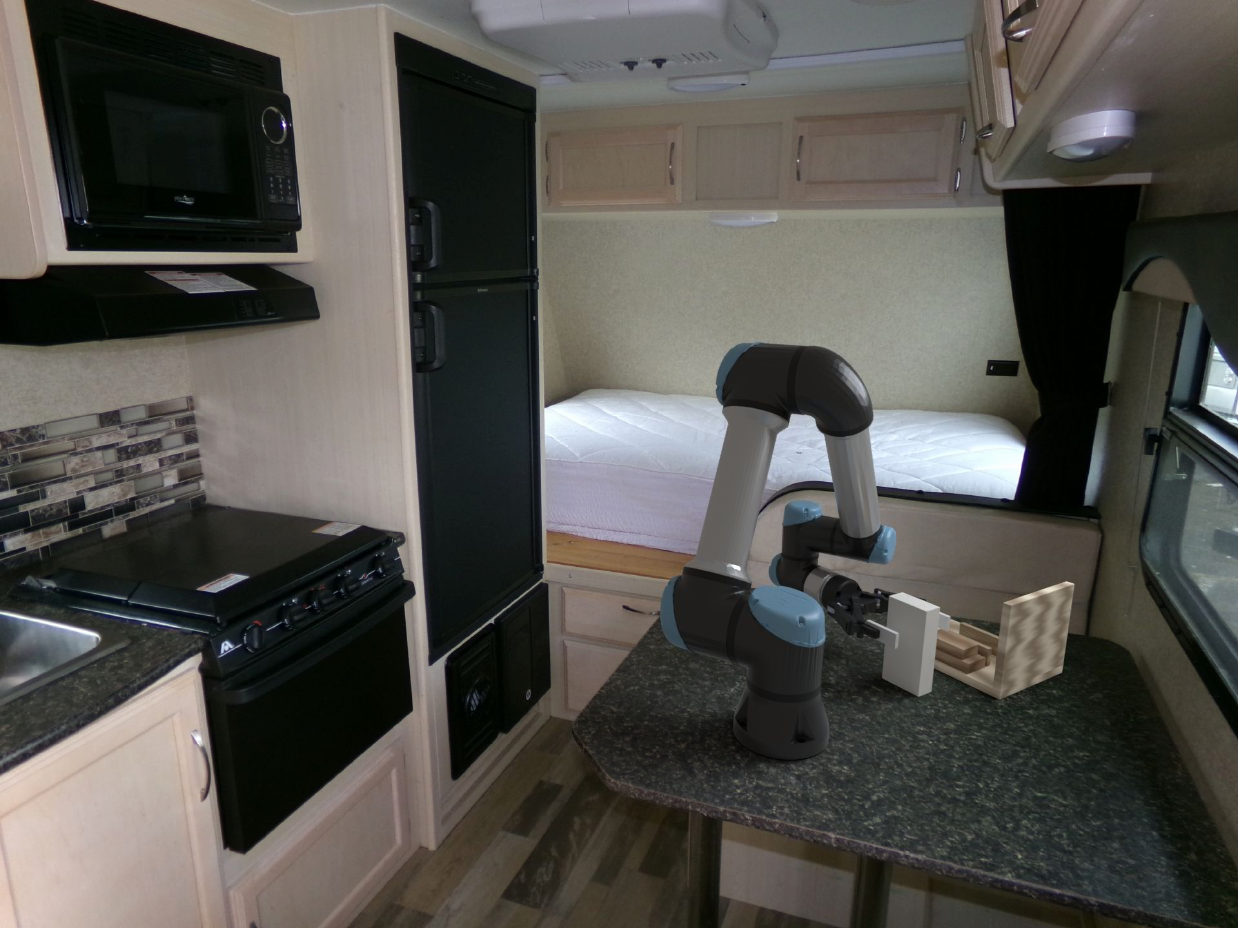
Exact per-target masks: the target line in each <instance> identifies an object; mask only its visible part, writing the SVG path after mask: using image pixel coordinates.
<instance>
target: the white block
mask: <svg viewBox="0 0 1238 928" xmlns="http://www.w3.org/2000/svg"><path fill="white" fill-rule="evenodd" d="M916 597H917V596H912V595H911V594H908V593H905V592H903V591H902V592H899V593H898V594H894V595H891V596H889V604H888V612H887V617H886V627H887V628H889V629H891V630H893V631H895V632H898V633H899V640H898V648H896V649H894V648H892V647H890V646H888V645H886V644H884V650H883V651H884V653H883V662H882V663H883V664H882V676H881V678H882V679H883V680H885V681H886V682H887V681H888V682H889V683H891V684H893V685H895V686H897V687H899V688H901V689H902V690H904V691H907V692H909V693H910V694H912V695H914V696H916V697H917V698H918V697H921V696H924V695H927V694H929V693H932V687H933V681H934V670H935V669H934V662H935V652H936V642H937V632H938V623H939V613H940V612H941V607H940V606H938V605H935V604H933V603H930V602H928V601H927V600H926V601H923V600H921V599H918V598H919V597H917V598H916Z"/></svg>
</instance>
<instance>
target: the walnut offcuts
mask: <svg viewBox="0 0 1238 928" xmlns="http://www.w3.org/2000/svg"><path fill="white" fill-rule="evenodd" d="M978 646H979V644H977V643H974V642H972V641H970V640H967V639H965V638H963V637H960V636H958V635H956V634H953V633H951V632H949V631H945V630H942V629H939V630H938V632H937V642H936V652H935V659H936V660H938V661H940V662H942V663H945V664H947V665H949V666H951V667H953V668H955V669H957V670H960V671H962V672H964V673H966V674H970V673H972V672H975V671H977V670H980V669H982V668H985V662H986V657H984V656H981V655H979V654H978Z"/></svg>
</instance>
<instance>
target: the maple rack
mask: <svg viewBox="0 0 1238 928" xmlns="http://www.w3.org/2000/svg"><path fill="white" fill-rule="evenodd" d="M1075 585H1076V584H1075V583H1073V582H1069V581H1064V582H1061V583H1056V584H1055V585H1051V586H1048V587H1046V588H1042V589H1040V590H1037V591H1033V592H1031V593H1029V594H1025V595H1022V596H1019V597H1016V598H1013V599H1010V600H1007V601H1004V602H1003V603H1002V608H1001V609H1002V610H1001V619H1000V624H999V625H1000V626H999V634H998V635H996V634H993V633H991V632H989V631H987V630H984V629H982V628H979V627H976V626H974V625H971V624H969V623H967V622H963V621H962V622H959V621H957V620H954V619H953V618H950V628H949V632H951V633H953V634H956V635H958V636H960V637H963V638H965V639H967V640H970V641H972V642H974V643H977V644H979V646H978V654H979V655H981V656H984V657H986V662H985V668H982V669H980V670H977V671H975V672H972V673H970V674H966V673H964V672H962V671H960V670H957V669H955V668H953V667H951V666H949V665H947V664H945V663H942V662H940V661H938V660H936V659H935V662H934V670H937V671H939V672H941V673H943V674H945V675H947V676H950V677H952V678H953V679H956V680H958V681H960V682H962V683H963V684H966V685H968V686H970V687H971V688H972V687H973V688H975V689H977V690H978V691H981V692H983V693H985V694H987V695H989V696H991V697H993V698H996V699H997V700H1002V699H1004V698H1006V697H1009V696H1012V695H1014V694H1016V693H1018V692H1021V691H1023V690H1024V689H1025V690H1026V689H1028V688H1030V687H1032V686H1034V685H1036V684H1039V683H1041V682H1044V681H1046V680H1048V679H1050V678H1052V677H1055V676H1057V675H1059V674H1062V673H1063V668H1064V662H1065V661H1064V659H1065V654H1066V647H1067V639H1068V633H1069V626H1070V618H1071V612H1072V605H1073V598H1074V591H1075ZM939 629H940V628H938V630H939Z"/></svg>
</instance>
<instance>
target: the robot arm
mask: <svg viewBox="0 0 1238 928" xmlns="http://www.w3.org/2000/svg"><path fill="white" fill-rule="evenodd" d="M715 385H716V388H715V395H716V399H717V402H718V403H719V404H720V405H721V406H722V408H721V409H722V411H721V413H722V415H723V416H724V418H725V420H726V421H727V426H726V430H725V434H724V438H723V439H724V440H723V443H722V448H721V451H720V454H719V455H720V456H719V458H718V463H717V468H716V472H715V477H714V480H713V485H712V487H711V488H712V489H711V493H710V496H709V500H708V503H707V504H708V505H707V509H706V512H705V513H706V514H705V518H704V521H703V526H702V530H701V533H700V536H699V541H698V546H697V548H696V549H697V550H696V554H695V557H694V558H693V559H692V560H690V561H688V562H687V563H685V564H684V565H683V567H682V568H683V569H682V573H681V574H679V575H675V576H673V577H672V578H670V579H669V580H668V582H667V585H665V587H664V589H663V592H662V596H661V599H660V607H659V609H660V610H659V616H660V617H659V618H660V620H659V621H660V626H661V628H662V632H663V634H664V636H665V638H666V640H667V641H668V642H669V643H670V644H672V645H673V646H675V647H678V648H679V649H680V648H681V649H684V650H685V651H687V652H689V653H694V654H700V655H702V656H706V657H710V658H713V659H717V660H720V661H723V662H727V663H730V664H733V665H738V666H741V667H743V668H746V682H745V686H744V688H743V692H742V695H741V696H740V698H739V701H738V703H737V706H736V709H735V712H734V713H733V722H732V723H733V724H732V726H733V727H732V732H733V735H734V736H735V738H736V740H737V741H738V742H739V743H740V744H741V745H742V746H744V747H745V748H747V749H748V750H750V751H752V752H754V753H757V754H758V755H761V756H764V757H768V758H773V759H778V760H791V761H792V760H802V759H806V758H810V757H811V758H812V757H814V756H816V755H818V754H820V753H822V752H823V751H824V750H825V749H826V748H827V746H828V744H829V740H830V723H829V720H828V716H827V715H828V714H827V711H826V709H825V705H824V701H823V698H822V694H821V693H822V692H821V690H822V688H821V687H822V678H823V677H822V675H823V662H824V651H825V649H824V648H825V641H826V637H827V634H826V628H825V627H826V625H825V624H826V623H825V622H826V617H825V616H826V615H825V611H824V609H825V610H826V611H827V612H826V614H827V616H830V617H831V618H833V620H835V621H836V623H837V624H838V625H839V626H840V627H841V629H842V630H843V631H844V633H846V635H848V636H854V635H855V633H856V638H857V639H864V635H865V636H867V637H869V638H870V639H873V640H875V641H878V642H879V643H882V644H883V645H885V644H886V645H888V646H890V647H892V648H894V649H896V648H898V640H899V633H898V632H895V631H893V630H891V629H889V628H887V626H884V625H882V624H880V623H878V622H875V621H873V620H871V619H867V620H865V617H864V616H867V615H869V614H879V615H881V614H883V613H888V604H889V596H891V595H894V594H898V593H897V592H893V591H889V590H885V589H881V588H879V587H876V588H873V592H872V593H871V592H869V591H866V590H865V591H863V589H862V588H861V586H860V584H859V582H857V581H856V580H854V579H853V578H850V577H848V576H846V575H842V574H840V573H838V572H836V571H833V570H831V569H829V568H825V567H823V566H822V565H820V564H819V559H820V554H824V555H830V556H834V557H837V558H844V559H849V560H853V561H856V562H857V561H858V562H862V563H866V564H876V565H881V566H882V565H884V566H885V565H888V564H889V563H890V562H891V561H892V559H893V557H894V554H895V552H896V547H897V532H896V530H895V529H894V528H893V527H891V526H887V525H885V524H883V525H882V519H881V514H880V513H881V512H880V505H879V497H878V496H879V495H878V490H877V481H876V474H875V473H876V472H875V467H874V457H873V452H872V451H873V450H872V443H871V434H870V427H871V426H872V424H873V422H874V419H875V417H874V409H873V408H874V407H873V403H872V399H871V395H870V393H869V391H868V389H867V386H866V384H865V383H864V381H863V379H862V378H861V376H860V374H858V372H857V371H856V369H854V367H853V366H852V365H851V363H850V362H848V361H847V360H846V359H845V358H844V357H843V356H841V354H838V353H837V352H835V351H833V350H831V349H829V348H827V347H824V346H819V345H801V344H800V345H798V344H782V343H769V342H768V343H767V342H762V341H757V342H741V343H738V344H735V346H733V347H732V348H730V349H729V350H728V351H727V352H726V354H725V355H724V356H723V358H722V360H721V361H720V365H719V367H718V369H717V374H716V378H715ZM792 415H799V416H809V417H811V418H813V419H814V421H815V427H816V429H817V430H818V432H820V433H821V434H822V435H824V436H823V438H824V441H825V447H826V453H827V454H826V455H827V459H828V463H829V468H830V474H831V480H832V485H833V491H834V497H835V501H836V503H835V504H836V507H837V513H838V517H834V516H830V515H829V516H827V515H824V514H823V513H824V512H823V508H822V505H821V504H820V503H818V502H814V501H811V500H804V499H802V500H792V501H790V502H787V504H786V505H785V506H784V511H783V518H782V523H781V525H782V530H781V531H782V534H781V552H780V553H777V554H775V556H774V557H773V558H772V559H771V564H770V565H769V566H768V578H769V580H770V581H771V582H772V584H773V585H772V584H771V585H761V586H758V587H756V588H754V590H752V591H751V589H752V585H753V581H752V580H751V578H750V576H749V575H748V572H747V565H748V562H749V561H748V560H749V557H750V552H751V549H752V545H753V540H754V535H755V531H756V527H757V522H758V518H759V514H760V510H761V506H762V501H763V498H764V497H763V496H764V493H765V488H766V484H767V480H768V476H769V473H770V472H769V471H770V467H771V463H772V459H773V454H774V450H775V445H776V442H777V437H778V434H779V433H781V432H783V431H785V430H786V429H787V428H789V426H790V422H791V417H792ZM774 585H775V586H774ZM915 597H916V598H918V599H921V600H923V601H926V602H927V599H926V598H922V597H917V596H915ZM878 605H879V607H878V608H877V606H878ZM950 619H952V617H951V615H948V614H947V613H943V612H941V611H940V613H939V623H938V628H940V629H942V630H945V631H949V628H950ZM865 621H866V622H865Z"/></svg>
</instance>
